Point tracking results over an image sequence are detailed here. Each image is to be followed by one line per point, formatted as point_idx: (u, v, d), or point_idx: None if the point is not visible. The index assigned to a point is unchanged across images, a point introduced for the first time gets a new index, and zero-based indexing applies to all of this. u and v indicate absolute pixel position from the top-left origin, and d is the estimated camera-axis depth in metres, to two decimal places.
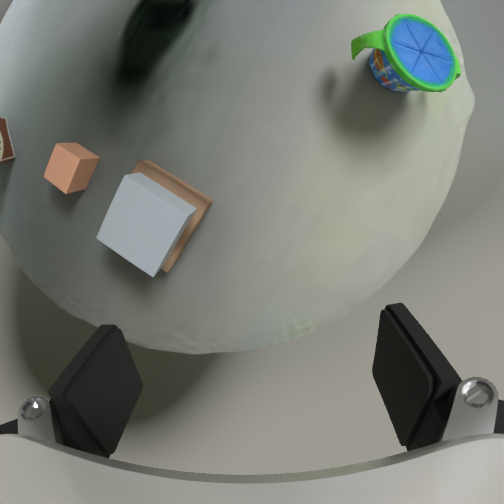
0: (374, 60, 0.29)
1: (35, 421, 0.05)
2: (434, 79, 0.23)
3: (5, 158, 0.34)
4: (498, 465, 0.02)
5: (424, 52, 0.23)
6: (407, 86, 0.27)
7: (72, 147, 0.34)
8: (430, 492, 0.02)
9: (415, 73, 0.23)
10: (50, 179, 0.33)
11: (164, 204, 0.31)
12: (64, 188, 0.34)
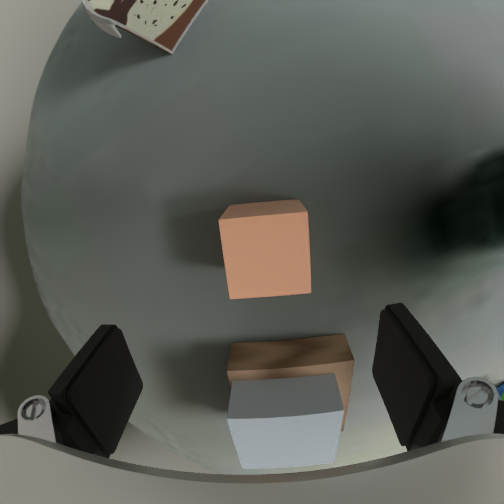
0: None
1: (35, 421, 0.05)
2: None
3: (160, 43, 0.16)
4: (498, 465, 0.02)
5: None
6: None
7: None
8: (430, 492, 0.02)
9: None
10: (227, 244, 0.18)
11: (333, 448, 0.21)
12: (236, 289, 0.19)
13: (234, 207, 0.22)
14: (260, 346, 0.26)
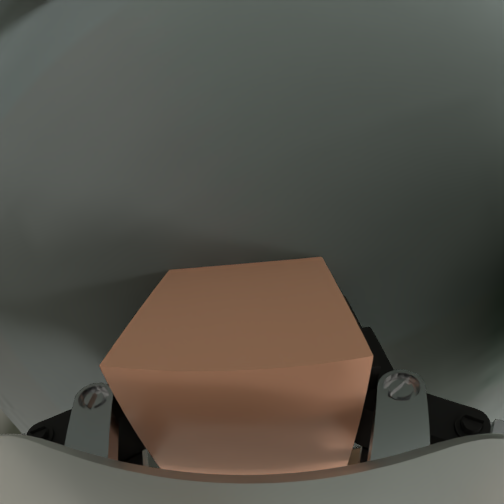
0: None
1: (92, 411, 0.05)
2: None
3: None
4: (498, 465, 0.02)
5: None
6: None
7: None
8: (430, 492, 0.02)
9: None
10: (137, 417, 0.06)
11: None
12: None
13: (172, 285, 0.09)
14: None
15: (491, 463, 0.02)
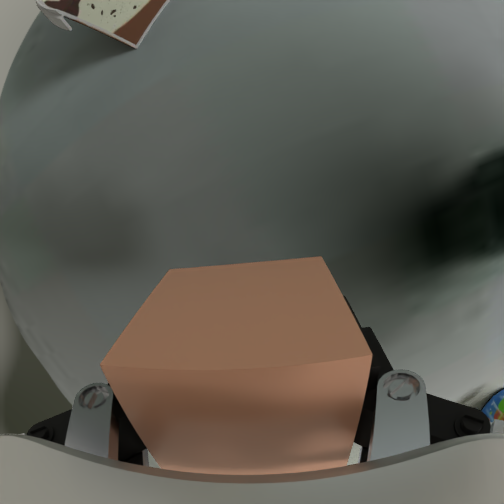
0: None
1: (92, 411, 0.05)
2: None
3: (121, 36, 0.13)
4: (498, 465, 0.02)
5: None
6: None
7: None
8: (430, 492, 0.02)
9: None
10: (137, 415, 0.06)
11: None
12: None
13: (172, 284, 0.09)
14: None
15: (491, 463, 0.02)
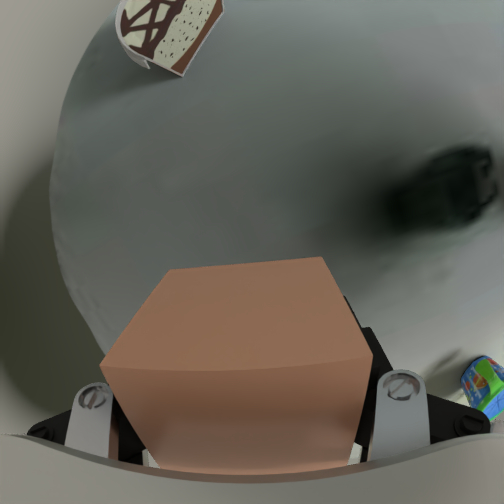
0: (478, 373, 0.34)
1: (92, 411, 0.05)
2: None
3: (174, 70, 0.23)
4: (498, 465, 0.02)
5: (497, 401, 0.29)
6: (471, 406, 0.32)
7: None
8: (430, 492, 0.02)
9: None
10: (137, 416, 0.06)
11: None
12: None
13: (172, 285, 0.09)
14: None
15: (491, 463, 0.02)
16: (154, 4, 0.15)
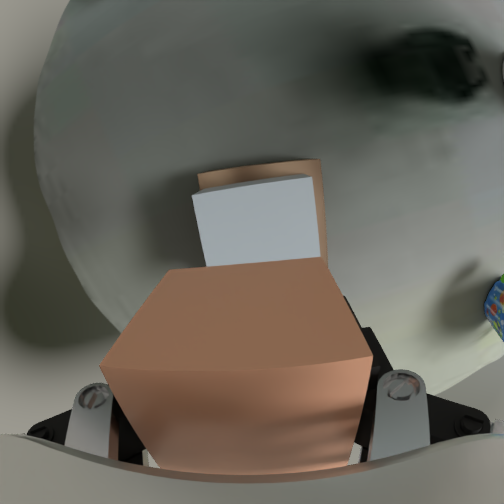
0: None
1: (92, 411, 0.05)
2: None
3: None
4: (498, 465, 0.02)
5: None
6: (502, 333, 0.27)
7: None
8: (430, 492, 0.02)
9: None
10: (136, 417, 0.06)
11: (315, 254, 0.22)
12: None
13: (172, 285, 0.09)
14: None
15: (491, 463, 0.02)
16: None
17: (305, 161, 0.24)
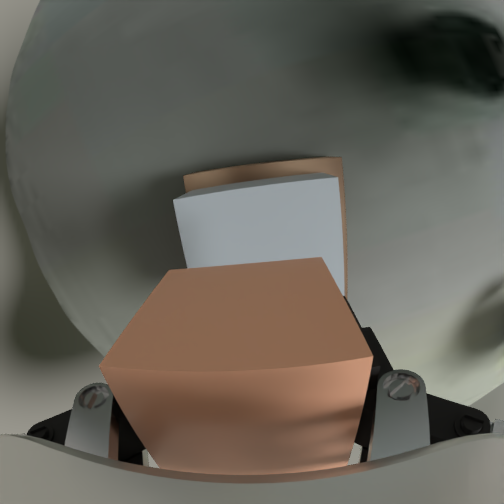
0: None
1: (92, 411, 0.05)
2: None
3: None
4: (498, 465, 0.02)
5: None
6: None
7: None
8: (430, 492, 0.02)
9: None
10: (136, 417, 0.06)
11: (338, 280, 0.16)
12: None
13: (171, 285, 0.09)
14: (228, 167, 0.22)
15: (491, 463, 0.02)
16: None
17: (322, 159, 0.19)
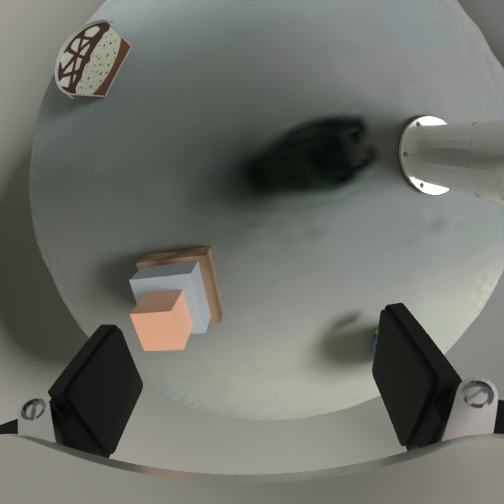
0: None
1: (35, 421, 0.05)
2: None
3: (96, 94, 0.33)
4: (498, 465, 0.02)
5: None
6: None
7: (179, 313, 0.34)
8: (430, 492, 0.02)
9: None
10: (136, 325, 0.32)
11: (198, 314, 0.38)
12: (146, 346, 0.33)
13: (145, 298, 0.36)
14: (159, 253, 0.43)
15: (491, 463, 0.02)
16: (75, 57, 0.26)
17: (196, 256, 0.40)
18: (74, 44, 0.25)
